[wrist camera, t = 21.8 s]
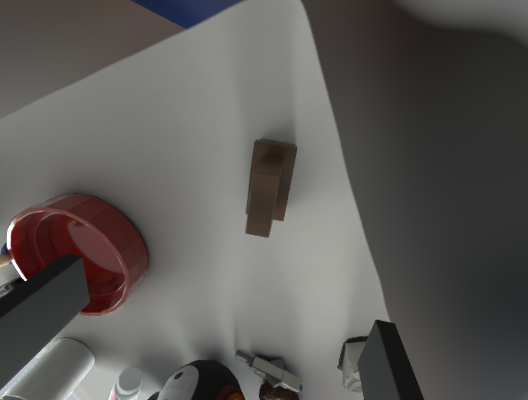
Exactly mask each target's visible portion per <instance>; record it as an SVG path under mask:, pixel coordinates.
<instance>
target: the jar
mask: <svg viewBox="0 0 528 400" xmlns="http://www.w3.org/2000/svg"><path fill="white" fill-rule="evenodd" d="M160 392H161V391H159V392H156V393H155V394H153V395H152V396H151V397H150V398H149V399H148V400H157V399H158V396H159V394H160Z"/></svg>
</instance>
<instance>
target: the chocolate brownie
mask: <svg viewBox="0 0 528 400" xmlns="http://www.w3.org/2000/svg"><path fill="white" fill-rule="evenodd" d="M259 399H260V400H299V398H298V395H297V392H294V391H292V390H290V389H288V388H287V389H285V388H283V387H281V386H280V385H279V386H277V387H275V388H273V387H272V386H271V384H270V383H269V382H268V380H267V381H266V382H265V383H264V384H262V385H261V388H260V393H259Z"/></svg>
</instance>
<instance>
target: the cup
mask: <svg viewBox="0 0 528 400" xmlns="http://www.w3.org/2000/svg"><path fill="white" fill-rule="evenodd" d="M94 363H95V359H94V355H93V354H92V352H91V351H90V349H89V348H87V347H86V346H85V345H83V344H82V343H80V342H78V341H76V340H73V339H68V338H62V339H59V340H57V341H56V342H55V343H54V344H53V345H52V346H51V347H50V348H49V349H48V350H47V351H46V352H45V353H44V354H43V355H42V356H41V357H40V358H39V359H38V360H37V361H36V362H35V363H34V364H33V365H32V366H31V367H30V368H29V369H28V370H27V371H26V372H25V373H24V374H23V375H22V376H21V377H20V378H19V379H18V380H17V381H16V382H15V383H14V384H13V385H12V386H11V387H10V388H9V389H8V390H7V391H6V392H5V393H4V394H3V395H2V396H1V398H0V400H67V398H68V397H69V396H70V395H71V393H72V392H73V391H74V389H75V388H76V387H77V385H78V384H79V383H80V382H81V380H82V379H83V378H84V376H85V375H86V374H87V372H88V371H89V370H90V369H91V367H92V366H93V364H94Z"/></svg>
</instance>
